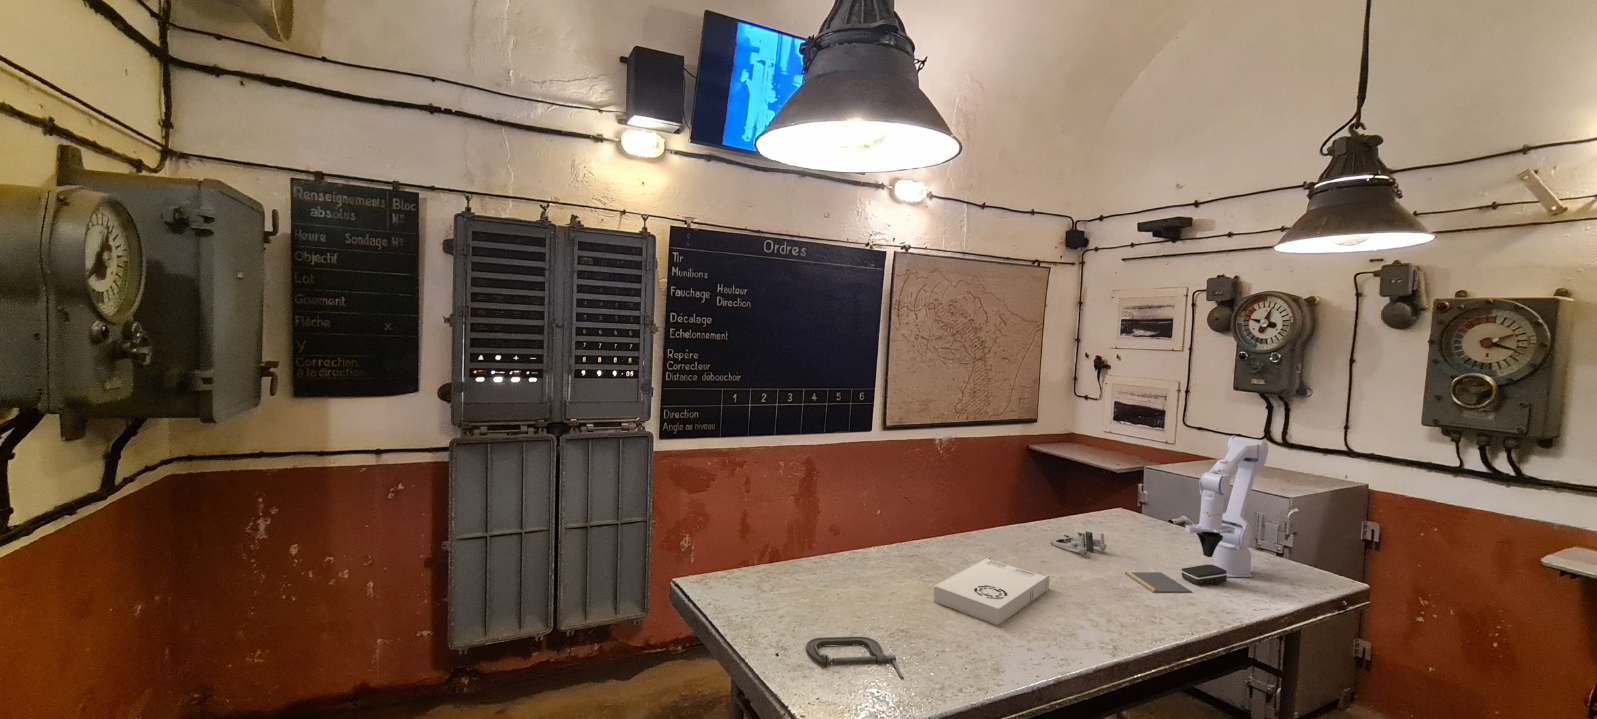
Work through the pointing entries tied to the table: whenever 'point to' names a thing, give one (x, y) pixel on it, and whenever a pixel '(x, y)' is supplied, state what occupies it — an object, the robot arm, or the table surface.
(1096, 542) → the bike brake
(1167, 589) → the mat
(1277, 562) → the table surface
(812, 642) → the c clamp
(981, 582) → the white flat box
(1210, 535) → the robot arm
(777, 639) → the table surface
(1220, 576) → the battery charger
